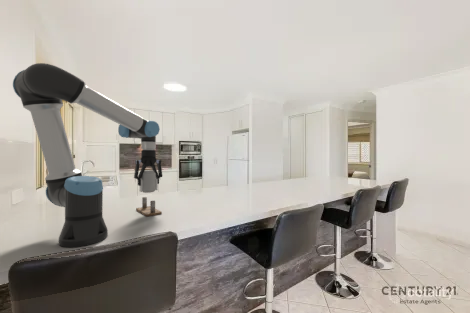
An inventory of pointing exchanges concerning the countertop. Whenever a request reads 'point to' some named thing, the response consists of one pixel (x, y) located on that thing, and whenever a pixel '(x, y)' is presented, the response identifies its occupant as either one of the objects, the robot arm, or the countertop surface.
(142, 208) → the peg cradle
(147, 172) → the can
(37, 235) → the countertop surface
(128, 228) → the countertop surface
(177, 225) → the countertop surface
